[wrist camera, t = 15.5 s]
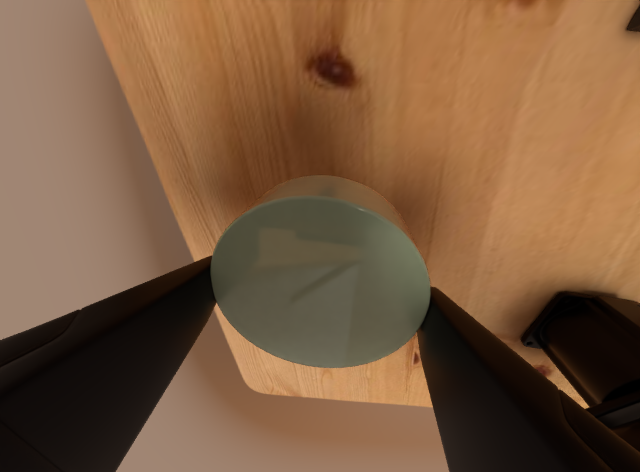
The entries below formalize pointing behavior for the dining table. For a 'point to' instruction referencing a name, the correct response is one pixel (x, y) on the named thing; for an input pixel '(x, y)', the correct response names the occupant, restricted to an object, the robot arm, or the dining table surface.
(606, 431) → the robot arm
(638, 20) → the tray
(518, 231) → the dining table surface
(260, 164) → the dining table surface
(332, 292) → the pale green disc
